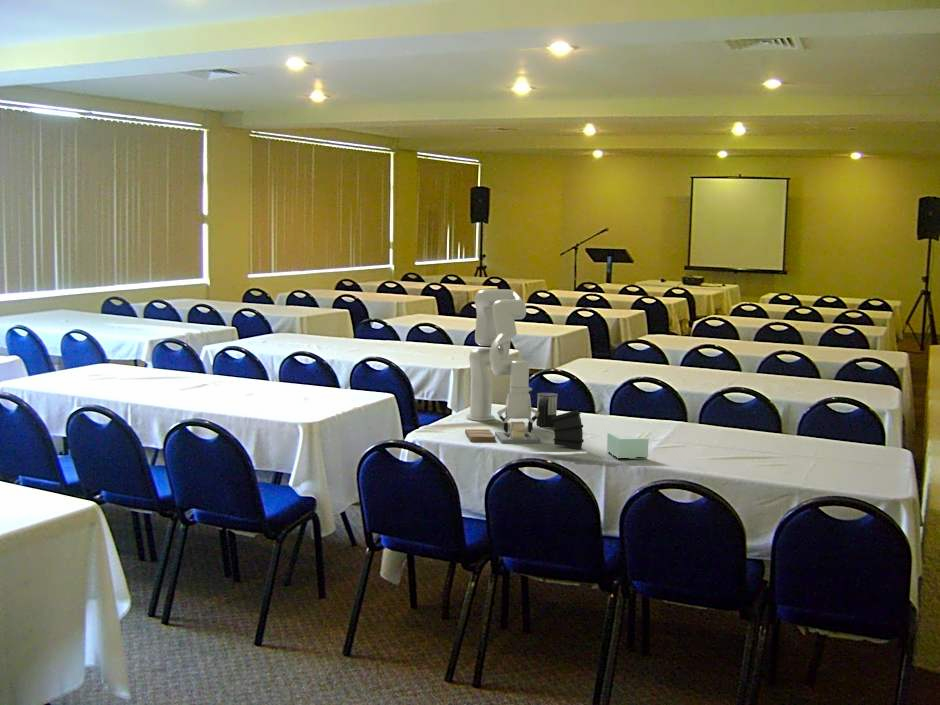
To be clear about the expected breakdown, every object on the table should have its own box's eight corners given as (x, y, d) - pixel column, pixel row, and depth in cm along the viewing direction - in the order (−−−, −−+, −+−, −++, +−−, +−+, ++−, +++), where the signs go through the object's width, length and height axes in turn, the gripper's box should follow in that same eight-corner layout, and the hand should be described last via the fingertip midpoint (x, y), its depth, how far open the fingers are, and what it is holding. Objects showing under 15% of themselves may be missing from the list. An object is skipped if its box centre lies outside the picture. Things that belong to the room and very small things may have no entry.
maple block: (510, 438, 416) (510, 421, 415) (522, 438, 417) (522, 421, 416) (512, 440, 411) (513, 423, 410) (524, 440, 412) (525, 423, 411)
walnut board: (465, 434, 422) (465, 429, 422) (488, 434, 423) (488, 429, 423) (470, 441, 406) (470, 436, 406) (495, 441, 408) (495, 436, 407)
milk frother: (535, 425, 447) (536, 391, 445) (571, 426, 447) (572, 393, 445) (536, 431, 433) (537, 397, 431) (573, 432, 432) (574, 398, 431)
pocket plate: (494, 435, 421) (494, 431, 421) (532, 435, 423) (532, 431, 423) (501, 443, 405) (501, 439, 405) (540, 443, 407) (540, 439, 407)
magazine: (587, 447, 395) (576, 410, 395) (557, 455, 400) (546, 418, 401) (590, 445, 398) (579, 409, 399) (560, 453, 404) (549, 417, 404)
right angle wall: (647, 458, 387) (648, 438, 386) (618, 458, 384) (619, 439, 383) (635, 451, 399) (636, 432, 398) (606, 451, 396) (607, 433, 395)
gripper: (537, 389, 417) (536, 430, 418) (496, 389, 414) (495, 430, 416) (541, 392, 409) (540, 433, 411) (499, 391, 407) (498, 433, 409)
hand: (517, 432), depth 413 cm, fingers open, 9 cm apart
